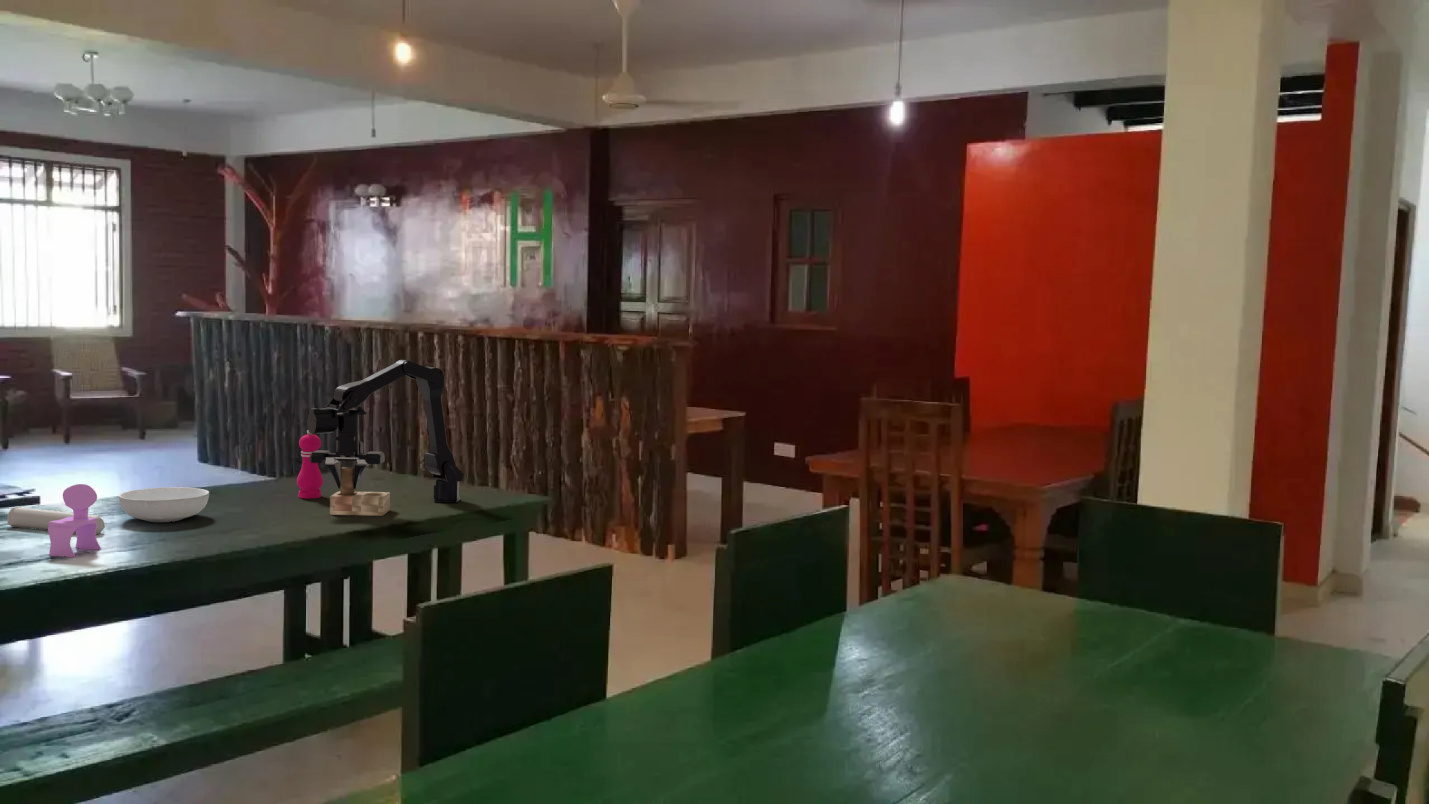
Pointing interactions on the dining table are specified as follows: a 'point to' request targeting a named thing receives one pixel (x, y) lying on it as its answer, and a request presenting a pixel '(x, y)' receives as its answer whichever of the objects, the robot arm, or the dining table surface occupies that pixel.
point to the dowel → (347, 481)
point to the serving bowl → (163, 503)
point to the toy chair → (74, 522)
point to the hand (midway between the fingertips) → (347, 488)
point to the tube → (42, 518)
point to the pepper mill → (309, 468)
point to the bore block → (360, 503)
